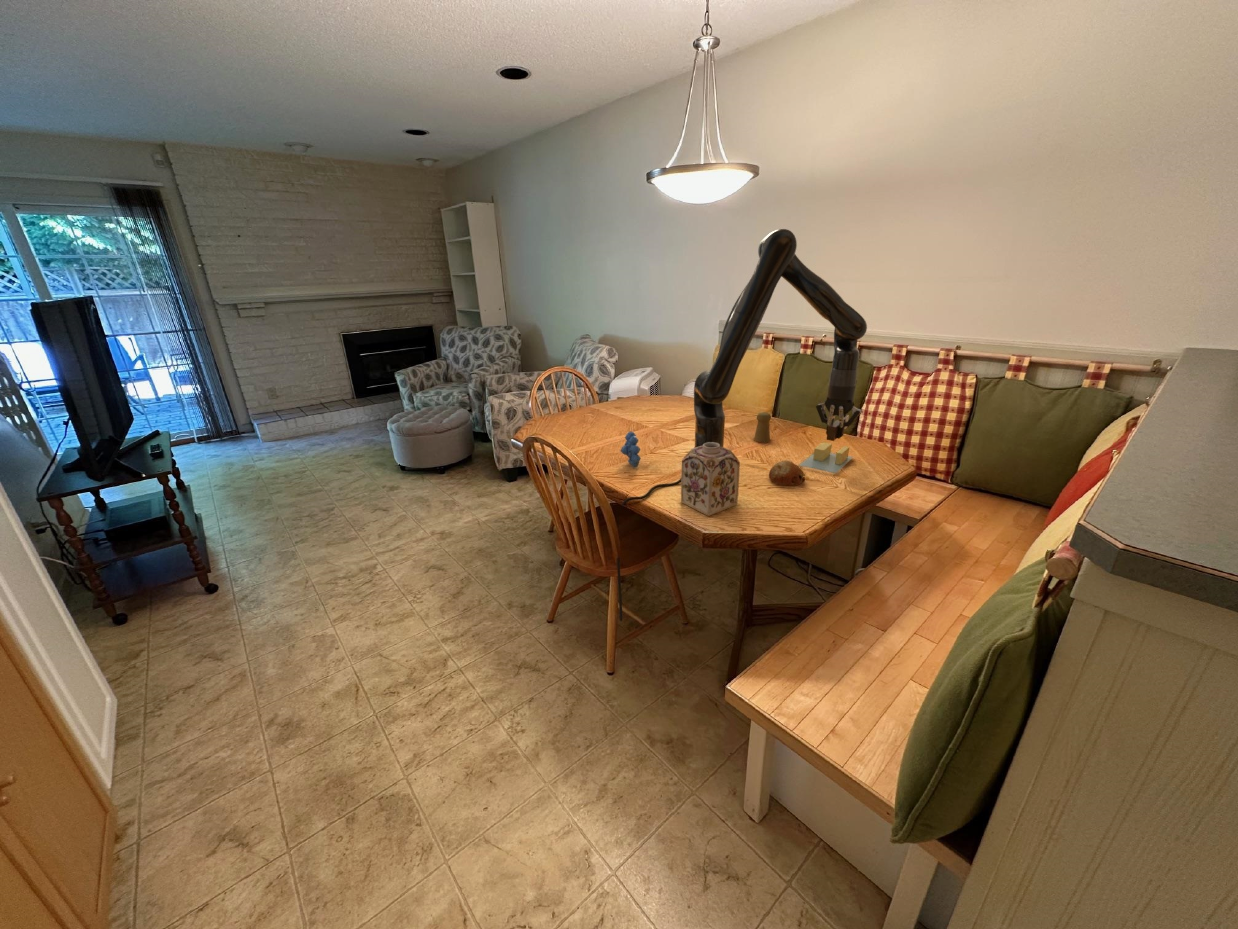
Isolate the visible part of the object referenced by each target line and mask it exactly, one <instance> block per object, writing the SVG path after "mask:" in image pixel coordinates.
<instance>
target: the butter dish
mask: <svg viewBox="0 0 1238 929" xmlns="http://www.w3.org/2000/svg"><path fill="white" fill-rule="evenodd" d="M813 456H814V453H812V454H811V455H810V456H808V457H807V458H806V459H804V460H803V461H802V462H801V463H800V464H798V466H799V467H804V468H808V469H813V470H816V471H817V470H818V471H822V472H827V473H831V474H837V473H838V472H839V471H840V470H841V469H843V468H844V466H846V465H847V464H848V463H849V462H850V461H851V460H852V459H854V456H850V455H848V458H847V459H846V460H845V461H844V462H843V463H842V464H841V465H838V464H835V459H836V453H833V452H831V454H830V455H829V456H828V457H827V458H826V459H825V460H823V461H818V460H814V459H813Z"/></svg>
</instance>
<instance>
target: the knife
mask: <svg viewBox="0 0 1238 929" xmlns="http://www.w3.org/2000/svg"><path fill="white" fill-rule="evenodd" d="M849 419H850V415H849V414H847V417H846V422H848V420H849ZM838 427H839V419H836V420H834V422H833V423H832V424H831V425H829V426H828V432H827V435H826V441H831V442H835V441H836V440H838V438H837V433H838ZM847 428H848V427H847V426H846V427H845V428H844V431H845V430H846V429H847Z"/></svg>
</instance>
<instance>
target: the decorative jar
mask: <svg viewBox="0 0 1238 929" xmlns="http://www.w3.org/2000/svg"><path fill="white" fill-rule="evenodd" d="M694 447H695V446H694ZM694 447H693V448H691V449H690V450H689V451H688V452H687V453H686V454H685V455H684V457H683V458H682V459H681V475H680V479H681V482H680V503H681V504H684V505H685V506H688V507H690V508H692V509H693V510H696V511H697V512H699V513H702V514H704V515H706V516H708V517H710V516H712V515H715V514H717V513H720V512H722V511H723V512H724V511H725V510H727V509H730V508H732V507H735V506H737V505H738V502H739V487H740V470H741V468H740V466H741V462H740V460H739V459H738V457H737V456H736V454H735V453H733V451H732V450H731V449H729V448H726V447H720V444H718V443H715V442H708V443H704V444H703V446H699V447H695V448H694Z"/></svg>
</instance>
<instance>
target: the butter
mask: <svg viewBox="0 0 1238 929" xmlns="http://www.w3.org/2000/svg"><path fill="white" fill-rule="evenodd" d="M832 447H833V446H832V443H830V442H821V443H819V444H818V445H817V446H816V447H814V449H813V454H814V456H813V459H814V460H818V461H823V460H825V459H826V458H827V457H828V456H829V455H830V454H831V453H832Z"/></svg>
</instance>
